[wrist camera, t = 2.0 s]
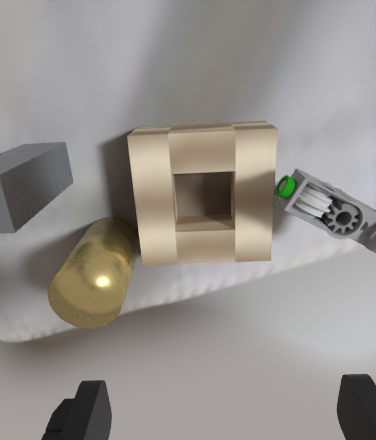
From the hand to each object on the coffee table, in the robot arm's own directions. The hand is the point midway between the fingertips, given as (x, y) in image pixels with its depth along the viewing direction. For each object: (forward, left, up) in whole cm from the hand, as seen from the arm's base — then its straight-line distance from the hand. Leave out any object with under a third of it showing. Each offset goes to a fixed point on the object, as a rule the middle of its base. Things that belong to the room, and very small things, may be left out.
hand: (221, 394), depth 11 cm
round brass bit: (+6, -10, -24) cm, 27 cm away
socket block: (0, 0, -24) cm, 24 cm away
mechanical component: (0, +10, -24) cm, 26 cm away
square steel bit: (-3, -15, -24) cm, 29 cm away
